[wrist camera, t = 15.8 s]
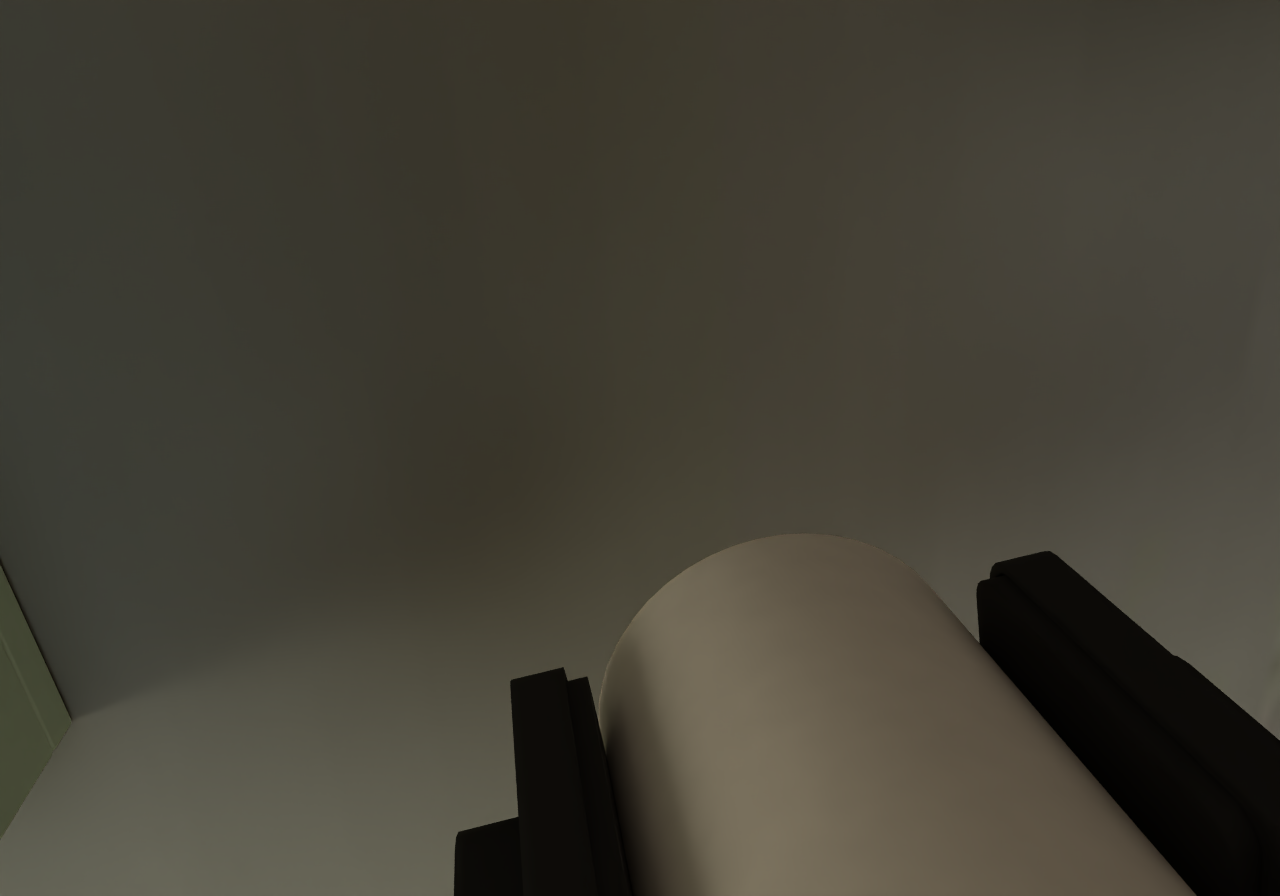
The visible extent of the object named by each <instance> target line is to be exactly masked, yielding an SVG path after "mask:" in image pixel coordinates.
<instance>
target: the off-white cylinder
mask: <svg viewBox="0 0 1280 896" xmlns="http://www.w3.org/2000/svg"><path fill="white" fill-rule="evenodd" d="M599 727H600V731H601V735H602V739H603V744H604V748H605V752H606V756H607V762H608V767H609V772H610V777H611V782H612V787H613V793H614V798H615V803H616V808H617V813H618V819H619V824H620V829H621V834H622V839H623V845H624V850H625V855H626V860H627V865H628V870H629V876H630V881H631V886H632V891H633V896H1197V895H1196V894H1195V893H1194V892H1193V891H1192V890H1191V888H1190V887H1189V886H1188V885H1187V884H1186V883H1185V881H1184V880H1183V879H1182V878H1181V877H1180V876H1179V875H1178V873H1177V872H1176V871H1175V870H1174V869H1173V868H1172V866H1171V865H1170V864H1169V863H1168V862H1167V861H1166V859H1165V858H1164V857H1163V856H1162V855H1161V854H1160V852H1159V851H1158V850H1157V849H1156V848H1155V847H1154V846H1153V844H1152V843H1151V842H1150V841H1149V840H1148V839H1147V837H1146V836H1145V835H1144V834H1143V833H1142V832H1141V830H1140V829H1139V828H1138V827H1137V826H1136V825H1135V823H1134V822H1133V821H1132V820H1131V819H1130V818H1129V817H1128V815H1127V814H1126V813H1125V812H1124V811H1123V810H1122V808H1121V807H1120V806H1119V805H1118V804H1117V803H1116V801H1115V800H1114V799H1113V798H1112V797H1111V796H1110V795H1109V793H1108V792H1107V791H1106V790H1105V789H1104V788H1103V786H1102V785H1101V784H1100V783H1099V782H1098V781H1097V779H1096V778H1095V777H1094V776H1093V775H1092V774H1091V772H1090V771H1089V770H1088V769H1087V768H1086V767H1085V766H1084V764H1083V763H1082V762H1081V761H1080V760H1079V759H1078V757H1077V756H1076V755H1075V754H1074V753H1073V752H1072V750H1071V749H1070V748H1069V747H1068V746H1067V745H1066V743H1065V742H1064V741H1063V740H1062V739H1061V738H1060V737H1059V735H1058V734H1057V733H1056V732H1055V731H1054V730H1053V728H1052V727H1051V726H1050V725H1049V724H1048V723H1047V721H1046V720H1045V719H1044V718H1043V717H1042V716H1041V714H1040V713H1039V712H1038V711H1037V710H1036V709H1035V708H1034V706H1033V705H1032V704H1031V703H1030V702H1029V701H1028V699H1027V698H1026V697H1025V696H1024V695H1023V694H1022V692H1021V691H1020V690H1019V689H1018V688H1017V687H1016V686H1015V684H1014V683H1013V682H1012V681H1011V680H1010V679H1009V677H1008V676H1007V675H1006V674H1005V673H1004V672H1003V670H1002V669H1001V668H1000V667H999V666H998V665H997V663H996V662H995V661H994V660H993V659H992V658H991V657H990V655H989V654H988V653H987V652H986V651H985V650H984V648H983V647H982V646H981V645H980V644H979V643H978V641H977V640H976V639H975V638H974V637H973V636H972V634H971V633H970V632H969V631H968V630H967V629H966V628H965V626H964V625H963V624H962V623H961V622H960V621H959V619H958V618H957V617H956V616H955V615H954V614H953V612H952V611H951V610H950V609H949V608H948V607H947V605H946V604H945V603H944V602H943V601H942V600H941V599H940V597H939V596H938V595H937V594H936V593H935V592H934V590H933V589H932V588H931V587H930V586H929V585H928V584H927V583H926V582H925V581H924V580H923V579H922V578H921V577H920V576H919V575H918V574H917V573H916V572H915V571H914V570H913V569H912V568H910V567H909V566H907V565H906V564H905V563H903V562H902V561H901V560H899V559H898V558H896V557H894V556H892V555H891V554H889V553H887V552H885V551H883V550H881V549H879V548H877V547H874V546H871V545H869V544H866V543H863V542H860V541H857V540H854V539H849V538H844V537H839V536H834V535H825V534H811V533H799V534H781V535H775V536H769V537H764V538H758V539H754V540H751V541H747V542H744V543H740V544H737V545H734V546H731V547H729V548H726V549H724V550H722V551H719V552H717V553H715V554H712V555H710V556H708V557H706V558H704V559H703V560H701V561H699V562H697V563H696V564H694V565H692V566H690V567H689V568H687V569H685V570H684V571H683V572H681V573H680V574H679V575H677V576H676V577H675V578H673V579H672V580H671V581H669V582H668V583H666V584H665V585H664V586H663V587H662V588H661V589H660V590H659V591H658V592H657V593H656V594H655V595H654V596H653V597H651V598H650V599H649V600H648V601H647V603H646V604H645V605H644V606H643V607H642V609H641V610H640V611H639V612H638V613H637V615H636V616H635V617H634V618H633V619H632V621H631V622H630V624H629V625H628V627H627V629H626V630H625V632H624V633H623V635H622V636H621V638H620V640H619V641H618V643H617V645H616V648H615V650H614V652H613V654H612V656H611V658H610V660H609V663H608V666H607V669H606V672H605V676H604V679H603V682H602V687H601V693H600V700H599Z"/></svg>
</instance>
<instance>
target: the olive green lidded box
mask: <svg viewBox="0 0 1280 896" xmlns="http://www.w3.org/2000/svg"><path fill="white" fill-rule="evenodd" d="M70 725H71V719H70V716H69V714H68V712H67V710H66V708H65V705H64V703H63V701H62V699H61V697H60V694H59V692H58V690H57V688H56V686H55V683H54V681H53V679H52V677H51V675H50V673H49V670H48V668H47V666H46V664H45V662H44V659H43V657H42V655H41V653H40V651H39V648H38V646H37V644H36V642H35V640H34V637H33V635H32V633H31V631H30V629H29V627H28V624H27V622H26V620H25V618H24V616H23V613H22V611H21V609H20V607H19V605H18V602H17V600H16V598H15V596H14V594H13V591H12V589H11V587H10V585H9V583H8V581H7V578H6V576H5V574H4V572H3V570H2V567H1V565H0V839H1V838H2V836H3V834H4V833H5V831H6V830H7V828H8V826H9V825H10V823H11V821H12V820H13V818H14V816H15V815H16V813H17V812H18V810H19V808H20V807H21V805H22V803H23V802H24V800H25V799H26V797H27V795H28V794H29V792H30V790H31V789H32V787H33V785H34V784H35V782H36V781H37V779H38V777H39V776H40V774H41V772H42V771H43V769H44V767H45V766H46V764H47V763H48V761H49V759H50V758H51V756H52V751H53V750H55V749H56V747H57V746H58V744H59V743H60V741H61V739H62V738H63V736H64V734H65V733H66V731H67V730H68V728H69V726H70Z"/></svg>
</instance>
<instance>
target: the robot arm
mask: <svg viewBox="0 0 1280 896" xmlns="http://www.w3.org/2000/svg"><path fill="white" fill-rule="evenodd" d="M977 610H978V625H979V640H980V645H981V646H982V647H983V648H984V650H985V651H986V652H987V653H988V654H989V655H990V657H991V658H992V659H993V660H994V661H995V662H996V663H997V665H998V666H999V667H1000V668H1001V669H1002V670H1003V672H1004V673H1005V674H1006V675H1007V676H1008V677H1009V679H1010V680H1011V681H1012V682H1013V683H1014V684H1015V686H1016V687H1017V688H1018V689H1019V690H1020V691H1021V692H1022V694H1023V695H1024V696H1025V697H1026V698H1027V699H1028V701H1029V702H1030V703H1031V704H1032V705H1033V706H1034V708H1035V709H1036V710H1037V711H1038V712H1039V713H1040V714H1041V716H1042V717H1043V718H1044V719H1045V720H1046V721H1047V723H1048V724H1049V725H1050V726H1051V727H1052V728H1053V730H1054V731H1055V732H1056V733H1057V734H1058V735H1059V737H1060V738H1061V739H1062V740H1063V741H1064V742H1065V743H1066V745H1067V746H1068V747H1069V748H1070V749H1071V750H1072V752H1073V753H1074V754H1075V755H1076V756H1077V757H1078V759H1079V760H1080V761H1081V762H1082V763H1083V764H1084V766H1085V767H1086V768H1087V769H1088V770H1089V771H1090V772H1091V774H1092V775H1093V776H1094V777H1095V778H1096V779H1097V781H1098V782H1099V783H1100V784H1101V785H1102V786H1103V788H1104V789H1105V790H1106V791H1107V792H1108V793H1109V795H1110V796H1111V797H1112V798H1113V799H1114V800H1115V801H1116V803H1117V804H1118V805H1119V806H1120V807H1121V808H1122V810H1123V811H1124V812H1125V813H1126V814H1127V815H1128V817H1129V818H1130V819H1131V820H1132V821H1133V822H1134V823H1135V825H1136V826H1137V827H1138V828H1139V829H1140V830H1141V832H1142V833H1143V834H1144V835H1145V836H1146V837H1147V839H1148V840H1149V841H1150V842H1151V843H1152V844H1153V846H1154V847H1155V848H1156V849H1157V850H1158V851H1159V852H1160V854H1161V855H1162V856H1163V857H1164V858H1165V859H1166V861H1167V862H1168V863H1169V864H1170V865H1171V866H1172V868H1173V869H1174V870H1175V871H1176V872H1177V873H1178V875H1179V876H1180V877H1181V878H1182V879H1183V880H1184V881H1185V883H1186V884H1187V885H1188V886H1189V887H1190V888H1191V890H1192V891H1193V892H1194V893H1195V894H1196V895H1197V896H1280V740H1278V739H1277V738H1276V737H1275V736H1274V735H1273V734H1271V733H1270V732H1269V731H1268V730H1267V729H1265V728H1264V727H1263V726H1262V725H1261V724H1260V723H1258V722H1257V721H1256V720H1255V719H1254V718H1253V717H1251V716H1250V715H1249V714H1248V713H1247V712H1245V711H1244V710H1243V709H1242V708H1241V707H1240V706H1238V705H1237V704H1236V703H1235V702H1234V701H1233V700H1231V699H1230V698H1229V697H1228V696H1227V695H1225V694H1224V693H1223V692H1222V691H1221V690H1220V689H1218V688H1217V687H1216V686H1215V685H1214V684H1213V683H1211V682H1210V681H1209V680H1208V679H1207V678H1205V677H1204V676H1203V675H1202V674H1201V673H1200V672H1198V671H1197V670H1196V669H1195V668H1194V667H1193V666H1191V665H1190V664H1189V663H1187V662H1186V661H1184V660H1182V659H1181V658H1179V657H1178V656H1174V655H1172V654H1171V653H1170V652H1169V651H1168V650H1166V649H1165V648H1164V647H1163V646H1162V645H1161V644H1159V643H1158V642H1157V641H1156V640H1155V639H1154V638H1152V637H1151V636H1150V635H1149V634H1148V633H1147V632H1145V631H1144V630H1143V629H1142V628H1141V627H1140V626H1138V625H1137V624H1136V623H1135V622H1134V621H1133V620H1131V619H1130V618H1129V617H1128V616H1127V615H1126V614H1124V613H1123V612H1122V611H1121V610H1120V609H1119V608H1118V607H1116V606H1115V605H1114V604H1113V603H1112V602H1111V601H1109V600H1108V599H1107V598H1106V597H1105V596H1104V595H1102V594H1101V593H1100V592H1099V591H1098V590H1097V589H1095V588H1094V587H1093V586H1092V585H1091V584H1090V583H1088V582H1087V581H1086V580H1085V579H1084V578H1083V577H1081V576H1080V575H1079V574H1078V573H1077V572H1076V571H1074V570H1073V569H1072V568H1071V567H1070V566H1069V565H1067V564H1066V563H1065V562H1064V561H1063V560H1062V559H1060V558H1059V557H1058V556H1057V555H1055V554H1054V553H1052V552H1050V551H1043V552H1039V553H1035V554H1031V555H1027V556H1022V557H1018V558H1014V559H1010V560H1006V561H1002V562H998V563H995V564H994V565H993V566H992V569H991V572H990V579H987V580H983V581H980V582H979V583H978V586H977ZM510 688H511V704H512V720H513V736H514V752H515V768H516V784H517V800H518V816H519V817H516V818H512V819H508V820H504V821H500V822H496V823H492V824H488V825H484V826H480V827H476V828H472V829H468V830H464V831H460V832H458V834H457V837H456V844H455V873H454V896H633V891H632V886H631V881H630V876H629V870H628V865H627V860H626V855H625V850H624V845H623V839H622V834H621V829H620V824H619V819H618V813H617V808H616V803H615V798H614V793H613V787H612V782H611V777H610V772H609V767H608V762H607V756H606V752H605V748H604V744H603V739H602V735H601V731H600V727H599V722H598V718H597V714H596V710H595V706H594V701H593V697H592V693H591V689H590V685H589V681H588V677H583V678H579V679H575V680H571V681H568V680H567V677H566V673H565V670H564V667H562V668H558V669H554V670H550V671H546V672H542V673H538V674H533V675H529V676H525V677H521V678H517V679H513V680H511V681H510Z"/></svg>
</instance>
